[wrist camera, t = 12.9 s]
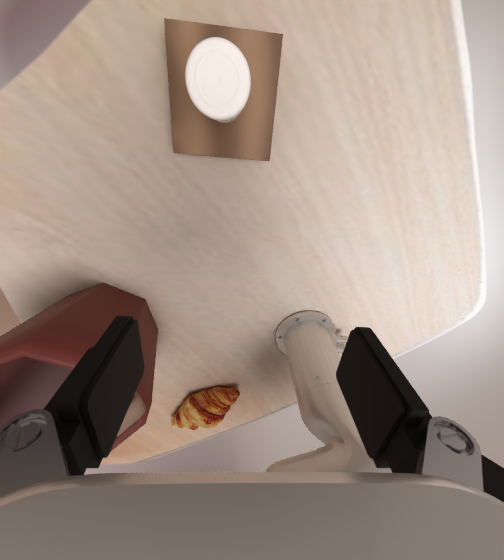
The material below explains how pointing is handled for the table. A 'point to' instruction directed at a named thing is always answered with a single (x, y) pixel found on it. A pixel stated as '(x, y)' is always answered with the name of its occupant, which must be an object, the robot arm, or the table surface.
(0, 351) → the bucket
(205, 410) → the croissant
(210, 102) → the sprinkles bottle
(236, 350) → the table surface
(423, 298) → the table surface
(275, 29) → the table surface
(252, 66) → the walnut plinth
